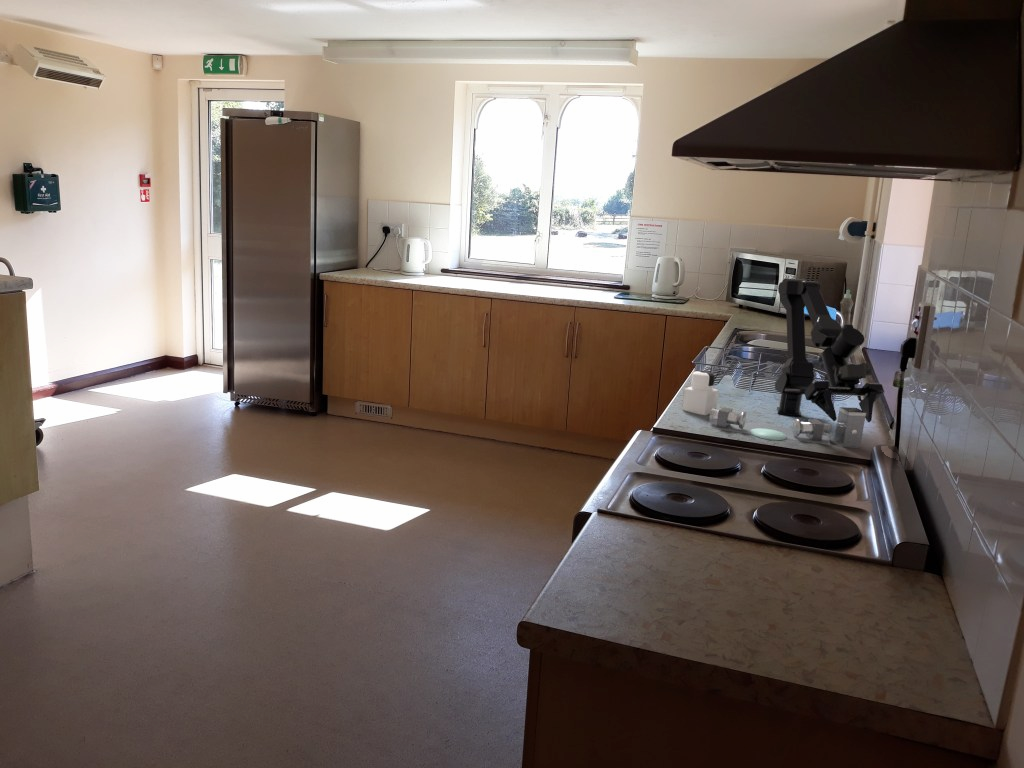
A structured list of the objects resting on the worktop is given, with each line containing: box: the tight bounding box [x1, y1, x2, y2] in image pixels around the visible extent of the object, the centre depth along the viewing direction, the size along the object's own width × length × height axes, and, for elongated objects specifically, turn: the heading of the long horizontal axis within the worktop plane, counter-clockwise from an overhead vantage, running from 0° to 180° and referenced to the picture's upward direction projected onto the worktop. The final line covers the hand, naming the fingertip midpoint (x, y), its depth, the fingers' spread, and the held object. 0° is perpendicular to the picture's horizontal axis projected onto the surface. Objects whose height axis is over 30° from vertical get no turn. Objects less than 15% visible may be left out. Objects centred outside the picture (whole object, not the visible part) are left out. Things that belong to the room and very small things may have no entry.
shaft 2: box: [791, 418, 832, 441], centre depth 208 cm, size 8×5×5 cm, turn 90°
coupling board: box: [707, 417, 832, 446], centre depth 211 cm, size 14×30×1 cm, turn 75°
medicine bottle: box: [681, 370, 719, 416], centre depth 227 cm, size 7×7×12 cm
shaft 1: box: [709, 406, 747, 429], centre depth 213 cm, size 8×5×5 cm, turn 60°
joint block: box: [833, 406, 866, 449], centre depth 204 cm, size 5×5×10 cm
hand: (852, 420), depth 203 cm, fingers open, 9 cm apart
